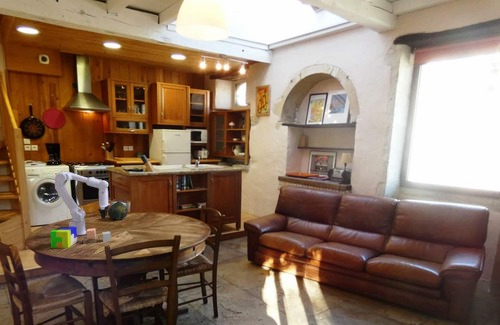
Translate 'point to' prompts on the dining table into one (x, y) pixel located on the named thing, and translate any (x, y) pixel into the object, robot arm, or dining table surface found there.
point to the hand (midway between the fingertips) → (104, 217)
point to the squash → (118, 211)
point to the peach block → (91, 233)
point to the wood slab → (90, 240)
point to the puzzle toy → (63, 237)
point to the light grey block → (106, 236)
